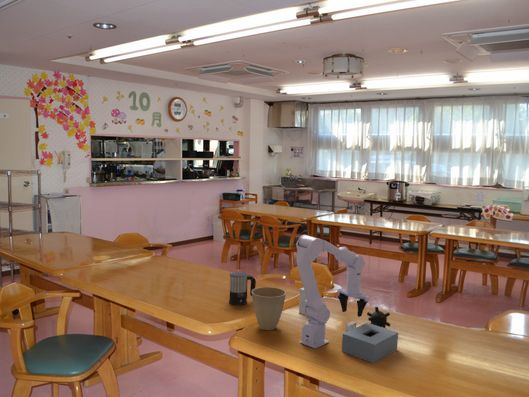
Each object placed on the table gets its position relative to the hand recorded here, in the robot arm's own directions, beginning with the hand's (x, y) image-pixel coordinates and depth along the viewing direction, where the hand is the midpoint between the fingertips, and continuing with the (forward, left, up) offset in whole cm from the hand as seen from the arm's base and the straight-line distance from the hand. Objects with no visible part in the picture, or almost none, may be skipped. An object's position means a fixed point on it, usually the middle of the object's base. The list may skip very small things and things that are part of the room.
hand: (351, 313), depth 195 cm
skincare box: (+7, +30, -9) cm, 32 cm away
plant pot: (-21, +29, -9) cm, 37 cm away
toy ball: (+16, -4, -9) cm, 19 cm away
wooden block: (0, 0, -9) cm, 9 cm away
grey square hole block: (-8, -14, -9) cm, 19 cm away
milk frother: (-5, +65, -9) cm, 66 cm away
